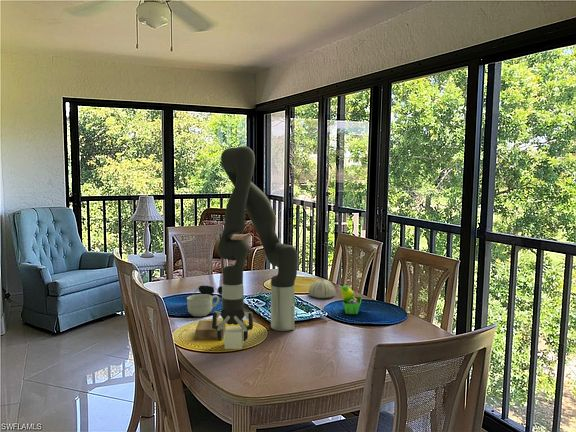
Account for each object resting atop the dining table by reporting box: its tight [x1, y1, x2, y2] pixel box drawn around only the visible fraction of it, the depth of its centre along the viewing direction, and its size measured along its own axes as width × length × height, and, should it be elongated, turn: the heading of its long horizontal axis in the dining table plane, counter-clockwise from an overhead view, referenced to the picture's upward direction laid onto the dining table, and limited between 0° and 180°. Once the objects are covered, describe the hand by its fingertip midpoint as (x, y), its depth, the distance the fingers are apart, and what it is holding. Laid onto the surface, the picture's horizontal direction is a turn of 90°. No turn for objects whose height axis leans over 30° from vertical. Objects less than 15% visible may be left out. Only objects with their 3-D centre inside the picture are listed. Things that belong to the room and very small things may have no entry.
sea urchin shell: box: [308, 279, 337, 299], centre depth 231 cm, size 13×14×8 cm
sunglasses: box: [192, 284, 223, 295], centre depth 226 cm, size 17×15×5 cm
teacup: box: [186, 293, 220, 317], centre depth 201 cm, size 14×11×8 cm
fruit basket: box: [340, 285, 362, 315], centre depth 207 cm, size 11×9×11 cm
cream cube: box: [223, 325, 244, 350], centre depth 167 cm, size 6×6×6 cm
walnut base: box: [195, 320, 226, 340], centre depth 178 cm, size 10×10×4 cm
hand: (232, 340), depth 167 cm, fingers open, 8 cm apart
